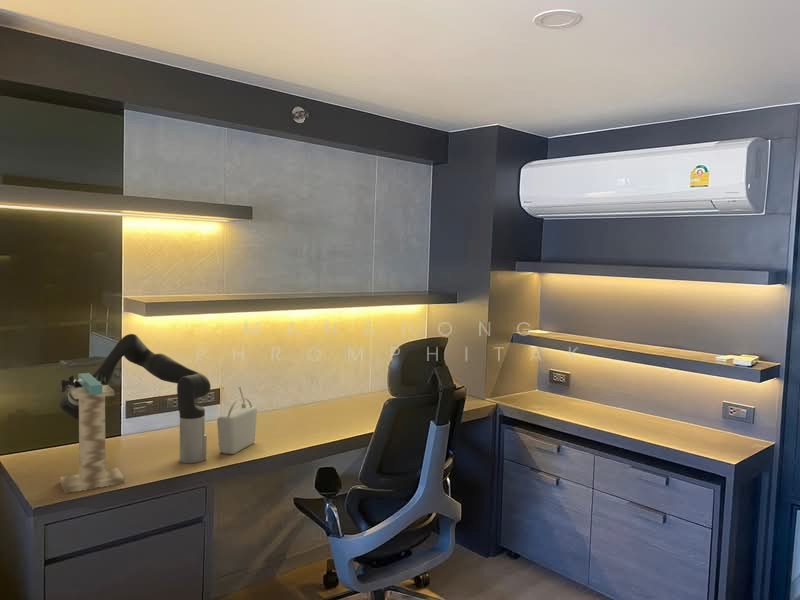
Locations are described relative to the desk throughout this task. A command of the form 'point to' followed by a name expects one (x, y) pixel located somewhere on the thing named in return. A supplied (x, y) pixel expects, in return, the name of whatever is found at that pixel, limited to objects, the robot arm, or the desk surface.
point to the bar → (90, 383)
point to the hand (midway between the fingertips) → (85, 377)
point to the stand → (91, 444)
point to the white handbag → (237, 428)
